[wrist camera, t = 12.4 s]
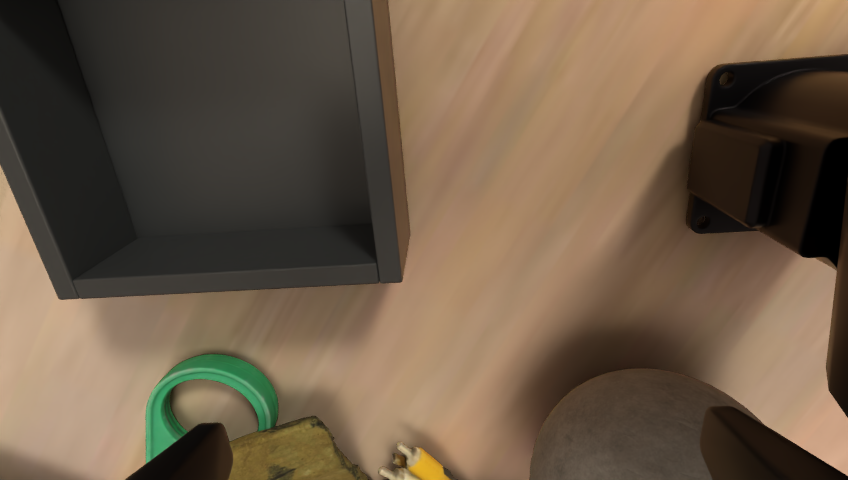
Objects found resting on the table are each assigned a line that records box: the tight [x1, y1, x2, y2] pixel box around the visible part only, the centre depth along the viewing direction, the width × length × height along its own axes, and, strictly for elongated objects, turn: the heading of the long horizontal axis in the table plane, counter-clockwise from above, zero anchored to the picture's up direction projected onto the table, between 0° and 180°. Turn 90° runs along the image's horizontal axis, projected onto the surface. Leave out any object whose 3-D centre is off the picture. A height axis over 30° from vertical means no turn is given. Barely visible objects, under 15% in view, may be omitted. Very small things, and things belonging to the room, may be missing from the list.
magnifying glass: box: [146, 354, 278, 464], centre depth 25 cm, size 15×6×2 cm, turn 142°
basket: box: [0, 0, 410, 300], centre depth 16 cm, size 13×12×4 cm
